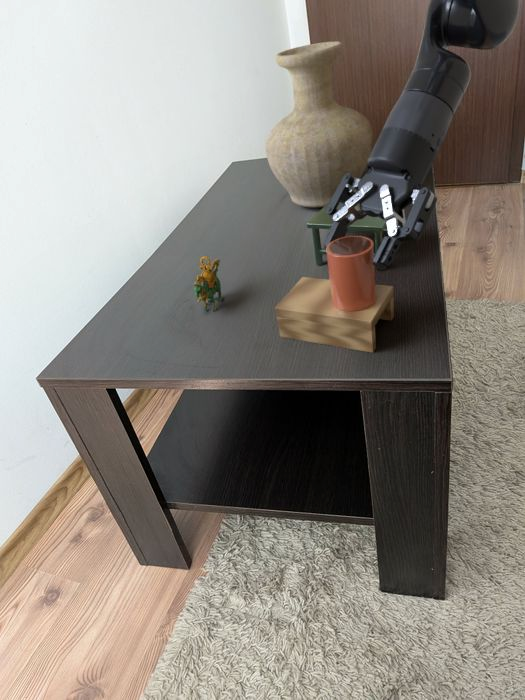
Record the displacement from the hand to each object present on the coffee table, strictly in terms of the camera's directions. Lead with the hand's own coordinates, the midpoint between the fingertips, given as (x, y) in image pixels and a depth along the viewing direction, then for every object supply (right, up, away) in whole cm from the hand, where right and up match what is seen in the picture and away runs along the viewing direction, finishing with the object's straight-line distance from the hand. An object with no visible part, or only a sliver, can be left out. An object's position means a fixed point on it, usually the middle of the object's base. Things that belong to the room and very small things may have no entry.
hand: (352, 258), depth 66 cm
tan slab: (-1, -8, +8) cm, 11 cm away
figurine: (-20, -4, +20) cm, 28 cm away
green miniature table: (+5, +5, +24) cm, 26 cm away
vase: (+2, +22, +49) cm, 53 cm away
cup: (+1, -5, +3) cm, 6 cm away
